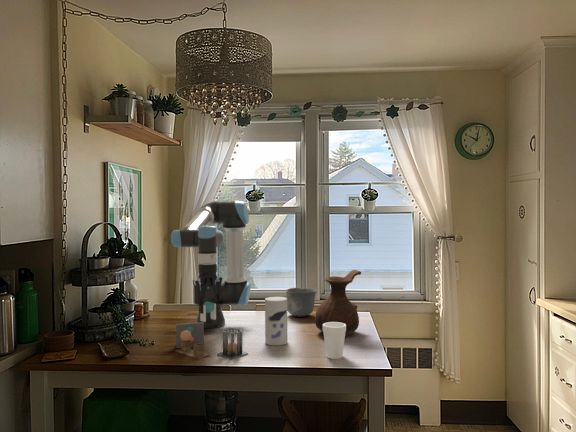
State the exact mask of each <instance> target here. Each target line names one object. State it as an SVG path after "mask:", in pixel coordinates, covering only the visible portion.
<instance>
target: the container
mask: <svg viewBox="0 0 576 432" xmlns="http://www.w3.org/2000/svg"><path fill="white" fill-rule="evenodd" d="M264 310H265V311H264V329H265V330H264V331H265V333H264V334H265V336H264V337H265V338H264V339H265V341H264V342H265V344H266V345H269V346H282V345H283V346H284V345H286V344H288V310H287V297H284V296H269V297H265V298H264Z"/></svg>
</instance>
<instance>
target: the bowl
mask: <svg viewBox="0 0 576 432" xmlns="http://www.w3.org/2000/svg"><path fill="white" fill-rule="evenodd" d="M285 293H286V298H287V313H288V314H290V315H291V316H294V317H300V318H302V317H307V316H309V315H311V314H312V313H313V312H314V309H315V299H316V295H317V294H316V293H317V289H316V288H311V287H291V288H287V289H286V290H285Z"/></svg>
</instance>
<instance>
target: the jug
mask: <svg viewBox="0 0 576 432" xmlns="http://www.w3.org/2000/svg"><path fill="white" fill-rule="evenodd" d="M360 275H362V272H361V270H357V269H352V270H351V271H349V273H347V274H346V275H345V276H342V277H341V276H333V275H331V276H327V277H326V278H325V279H324V281H325V282H326V283H328V284H329V286H330V289H331V290H330V293H329V296H328V297H327V298H326V299H325V300H323V301H322V302H321V303H320V304H319V306H318V307H317V309H316V312H315V316H314V323H315V326H316V328H317V330H320V331H321V332H322V333H323V324H324V323H327V322H340V323H344V324H346V332H345V337H346V336H349V335H351V334H353V333H354V332H355V331H357V330H358V329H359V324H360V317H359V314H358V311H357V309H358V305H357V304H355V303H353V302H352V301H350V300H349V299H348V296H347V294H346V289H347V286H348V285H349V284H350V283H353V281H354V279H355V277H356V276H360Z"/></svg>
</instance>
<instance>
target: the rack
mask: <svg viewBox="0 0 576 432" xmlns="http://www.w3.org/2000/svg"><path fill="white" fill-rule="evenodd" d="M175 352H176V353H179V354H183V355H185V356H187V357H191V358H194V359H197V360H199V359H204V358H207V357H210V356H211V354H209V353H205V343H204V344H201V343H198V344H194V347H193V348H192V347H191V340H189V341H183V340H182V341H181V348H180V349H179V348H178V349H176V350H175Z"/></svg>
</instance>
